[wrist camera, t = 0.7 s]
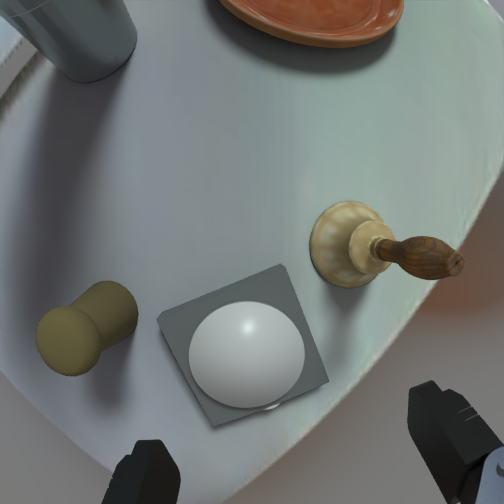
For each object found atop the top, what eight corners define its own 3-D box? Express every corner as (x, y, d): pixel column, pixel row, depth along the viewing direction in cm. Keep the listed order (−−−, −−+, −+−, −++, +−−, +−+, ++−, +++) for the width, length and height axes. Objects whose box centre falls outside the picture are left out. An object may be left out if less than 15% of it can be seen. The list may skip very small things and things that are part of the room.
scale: (161, 312, 30) (153, 322, 26) (280, 263, 30) (287, 268, 27) (216, 416, 31) (214, 434, 27) (323, 374, 31) (333, 389, 28)
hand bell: (396, 216, 31) (512, 212, 15) (374, 296, 31) (477, 346, 15) (323, 189, 30) (410, 155, 14) (298, 274, 30) (366, 322, 14)
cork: (105, 350, 30) (57, 399, 19) (72, 299, 29) (11, 329, 18) (150, 322, 30) (112, 368, 19) (116, 268, 29) (61, 289, 18)
